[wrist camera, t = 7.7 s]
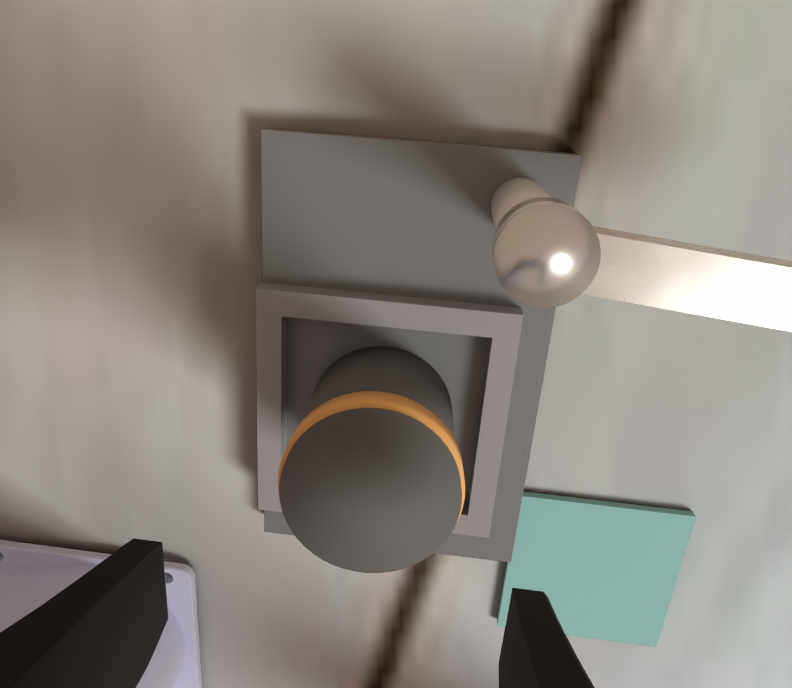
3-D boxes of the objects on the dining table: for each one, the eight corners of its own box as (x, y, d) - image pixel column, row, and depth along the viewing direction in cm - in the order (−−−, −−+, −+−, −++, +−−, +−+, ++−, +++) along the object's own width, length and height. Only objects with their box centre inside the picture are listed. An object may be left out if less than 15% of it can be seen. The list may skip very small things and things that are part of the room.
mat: (497, 619, 24) (497, 625, 24) (519, 490, 22) (520, 496, 22) (653, 640, 24) (656, 646, 24) (692, 511, 22) (695, 516, 21)
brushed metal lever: (482, 283, 13) (483, 297, 12) (503, 189, 12) (506, 196, 12) (960, 370, 13) (999, 391, 12) (1011, 277, 12) (1057, 292, 11)
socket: (270, 517, 24) (212, 643, 18) (268, 128, 18) (187, 139, 13) (509, 547, 23) (523, 687, 17) (577, 153, 18) (627, 176, 12)
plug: (350, 497, 21) (330, 600, 17) (281, 380, 20) (239, 455, 15) (478, 444, 21) (496, 536, 16) (415, 318, 19) (415, 377, 15)
